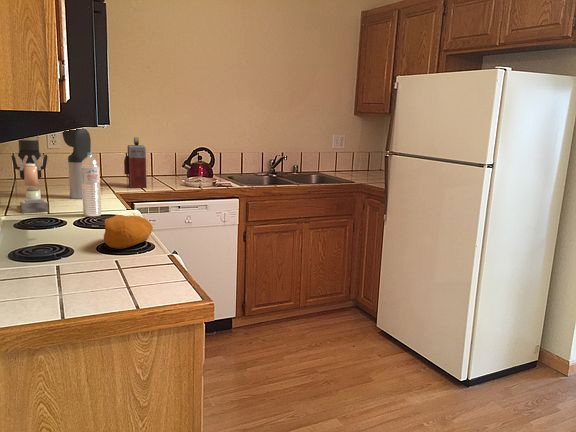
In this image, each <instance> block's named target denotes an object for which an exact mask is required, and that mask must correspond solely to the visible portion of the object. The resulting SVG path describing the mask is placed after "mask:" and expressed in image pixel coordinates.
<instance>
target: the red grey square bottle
mask: <svg viewBox="0 0 576 432" xmlns="http://www.w3.org/2000/svg"><path fill="white" fill-rule="evenodd" d="M139 141H140V139H139V136H134V137H133V144H128V145H127V155H125V156H124V160H123V165H124V167H123V169H124V173H123V174H124V175H127V176H128V188H129V189H147V186H148V185H147V154H146V153H147V150H146V149H147V148H146V146H145V145H144V144H143V145H142V144H140V143H139Z"/></svg>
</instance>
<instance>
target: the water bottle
mask: <svg viewBox="0 0 576 432" xmlns="http://www.w3.org/2000/svg"><path fill="white" fill-rule="evenodd" d="M87 155H88V157H86V158H85V159H84V160H83V161H82V162H81V171H82V213H83V216H84V217H90V218H91V217H99V216H100V217H101V215H102V201H101V200H102V198H101V197H102V196H101V195H102V194H101V178H100V176H101V175H100V168H101V167H100V162H99V161H98V159H96V158H95V157H93V152H91V153H87Z"/></svg>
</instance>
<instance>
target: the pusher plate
mask: <svg viewBox="0 0 576 432" xmlns="http://www.w3.org/2000/svg"><path fill="white" fill-rule="evenodd" d="M36 202H45V201H44V198H41V199H30V200H26V199H24V203H36Z"/></svg>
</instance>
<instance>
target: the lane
mask: <svg viewBox="0 0 576 432" xmlns="http://www.w3.org/2000/svg"><path fill="white" fill-rule="evenodd" d="M19 205H20V210H21V212H22V214H35V213H36V214H37V213H38V212H39V213H49V202H48V201H44V202H36V203H25V202H23V201H21V202H19Z"/></svg>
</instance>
